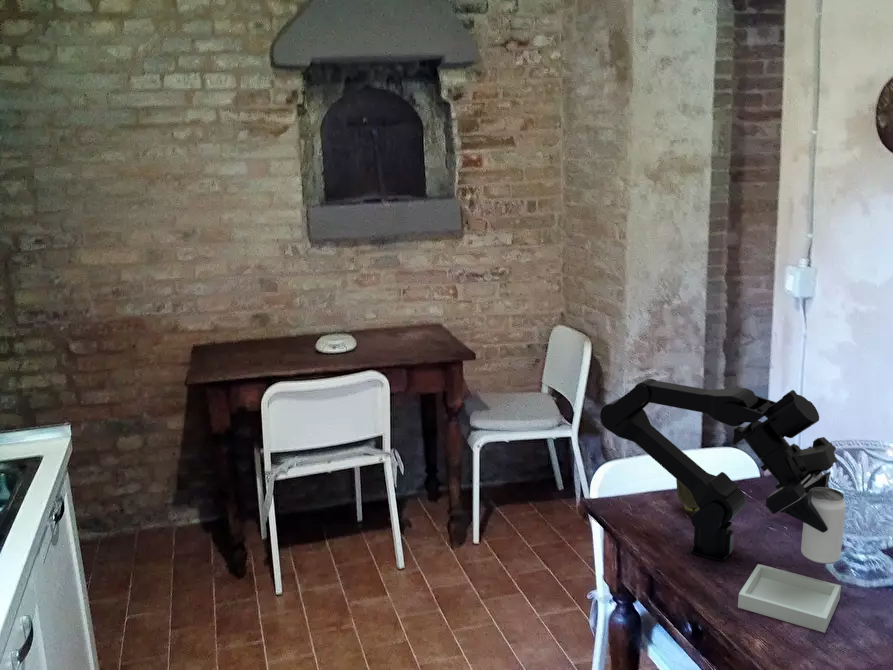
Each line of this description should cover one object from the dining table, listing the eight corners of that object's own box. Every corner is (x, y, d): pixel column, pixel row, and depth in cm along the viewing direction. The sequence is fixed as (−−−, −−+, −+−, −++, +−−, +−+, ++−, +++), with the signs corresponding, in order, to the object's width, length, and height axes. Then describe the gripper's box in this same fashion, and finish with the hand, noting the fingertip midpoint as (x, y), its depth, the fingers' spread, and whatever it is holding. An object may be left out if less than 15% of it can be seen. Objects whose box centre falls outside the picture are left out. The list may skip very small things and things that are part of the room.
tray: (737, 607, 145) (738, 593, 144) (757, 576, 154) (758, 563, 154) (824, 632, 137) (826, 618, 136) (839, 598, 147) (840, 585, 146)
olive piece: (668, 512, 181) (669, 478, 179) (683, 500, 186) (685, 467, 184) (701, 522, 176) (703, 486, 174) (716, 509, 181) (718, 475, 179)
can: (826, 545, 154) (831, 484, 151) (848, 562, 147) (854, 499, 144) (793, 548, 153) (798, 487, 150) (814, 566, 146) (820, 503, 143)
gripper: (790, 443, 140) (854, 523, 136) (825, 413, 154) (885, 484, 149) (740, 475, 147) (799, 552, 143) (778, 443, 160) (834, 513, 156)
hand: (831, 524), depth 147 cm, fingers closed on can, 6 cm apart
